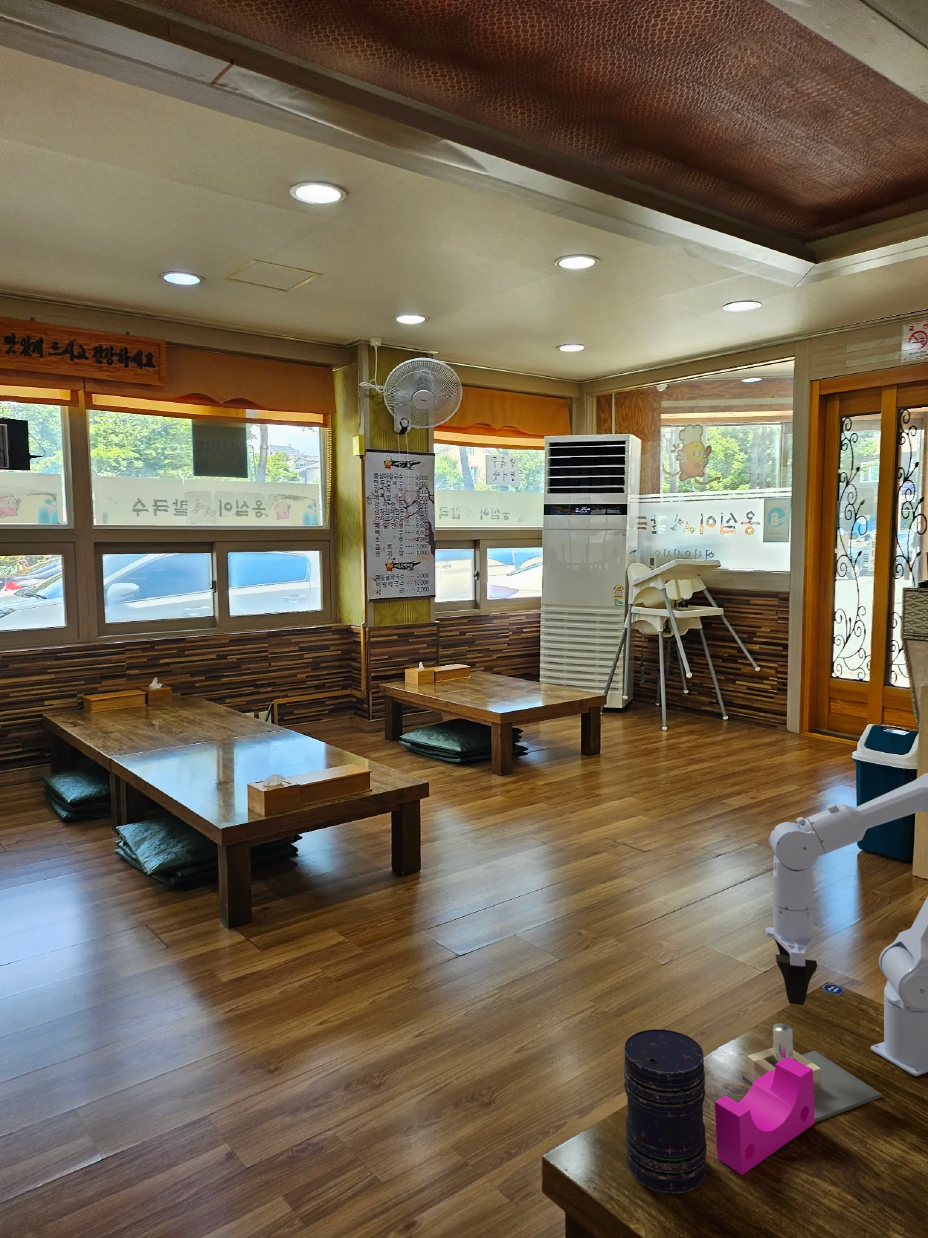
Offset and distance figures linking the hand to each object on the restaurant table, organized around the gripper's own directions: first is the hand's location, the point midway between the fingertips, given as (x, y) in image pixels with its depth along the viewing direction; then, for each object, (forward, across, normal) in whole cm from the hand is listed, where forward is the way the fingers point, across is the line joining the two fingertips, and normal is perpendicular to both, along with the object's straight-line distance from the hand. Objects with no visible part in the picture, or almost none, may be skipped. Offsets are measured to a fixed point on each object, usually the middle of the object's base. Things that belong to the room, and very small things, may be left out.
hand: (794, 991), depth 131 cm
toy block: (+9, +22, -6) cm, 25 cm away
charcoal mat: (+9, +9, +1) cm, 13 cm away
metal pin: (+9, +10, -2) cm, 13 cm away
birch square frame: (+9, +10, -2) cm, 13 cm away
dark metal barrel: (+10, +30, -18) cm, 36 cm away
